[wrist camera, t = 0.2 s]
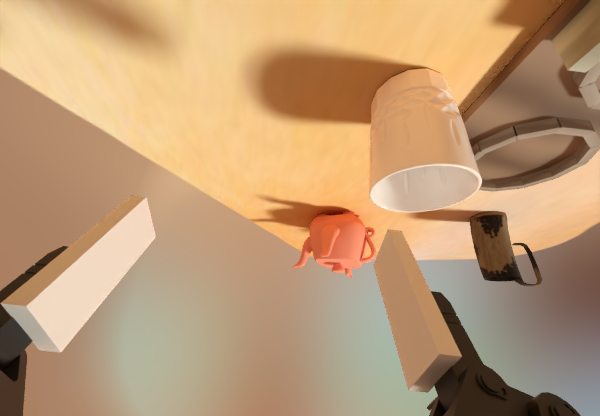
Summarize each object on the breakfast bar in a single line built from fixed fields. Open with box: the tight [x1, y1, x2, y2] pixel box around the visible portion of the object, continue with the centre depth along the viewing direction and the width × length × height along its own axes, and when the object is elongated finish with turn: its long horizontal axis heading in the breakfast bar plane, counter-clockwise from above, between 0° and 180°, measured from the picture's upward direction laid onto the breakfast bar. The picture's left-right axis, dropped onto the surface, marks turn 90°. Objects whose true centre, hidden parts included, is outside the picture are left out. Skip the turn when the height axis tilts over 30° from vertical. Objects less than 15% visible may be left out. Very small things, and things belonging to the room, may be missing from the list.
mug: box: [469, 211, 542, 286], centre depth 43 cm, size 8×6×12 cm
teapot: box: [293, 211, 376, 277], centre depth 50 cm, size 14×14×11 cm
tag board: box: [461, 0, 600, 191], centre depth 22 cm, size 27×15×4 cm, turn 176°
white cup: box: [369, 68, 482, 212], centre depth 22 cm, size 8×8×10 cm
